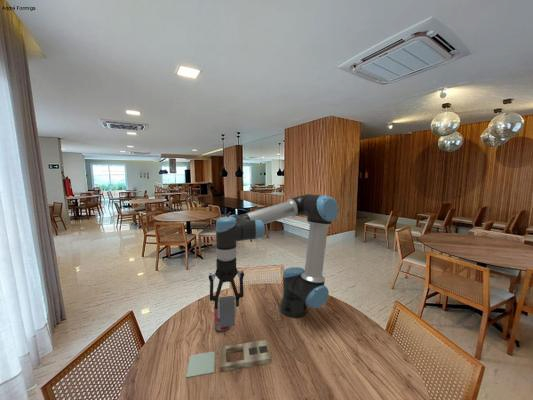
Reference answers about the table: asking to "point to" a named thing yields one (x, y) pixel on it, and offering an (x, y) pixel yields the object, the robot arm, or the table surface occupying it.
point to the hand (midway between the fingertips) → (227, 314)
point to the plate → (245, 355)
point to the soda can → (218, 321)
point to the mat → (201, 364)
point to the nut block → (227, 311)
